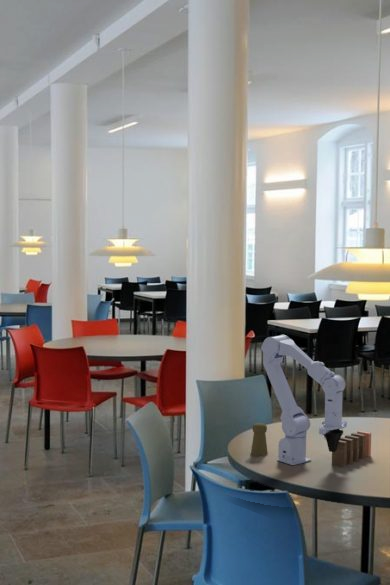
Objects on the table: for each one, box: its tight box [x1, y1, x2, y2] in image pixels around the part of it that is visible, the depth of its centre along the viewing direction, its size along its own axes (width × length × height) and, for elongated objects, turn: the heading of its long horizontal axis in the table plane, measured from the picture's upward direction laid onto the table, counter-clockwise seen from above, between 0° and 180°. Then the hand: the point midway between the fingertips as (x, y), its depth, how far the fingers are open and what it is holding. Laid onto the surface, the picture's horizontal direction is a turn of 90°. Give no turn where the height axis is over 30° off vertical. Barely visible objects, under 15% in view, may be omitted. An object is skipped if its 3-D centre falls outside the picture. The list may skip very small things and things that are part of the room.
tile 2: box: [340, 436, 354, 465], centre depth 284 cm, size 2×5×8 cm, turn 49°
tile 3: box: [344, 434, 360, 463], centre depth 287 cm, size 2×5×8 cm, turn 49°
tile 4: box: [350, 432, 366, 460], centre depth 290 cm, size 2×5×8 cm, turn 49°
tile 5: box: [356, 430, 372, 458], centre depth 294 cm, size 2×5×8 cm, turn 49°
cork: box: [250, 422, 269, 457], centre depth 294 cm, size 6×6×11 cm
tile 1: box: [331, 440, 347, 468], centre depth 281 cm, size 2×5×8 cm, turn 49°
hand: (332, 451), depth 277 cm, fingers closed
